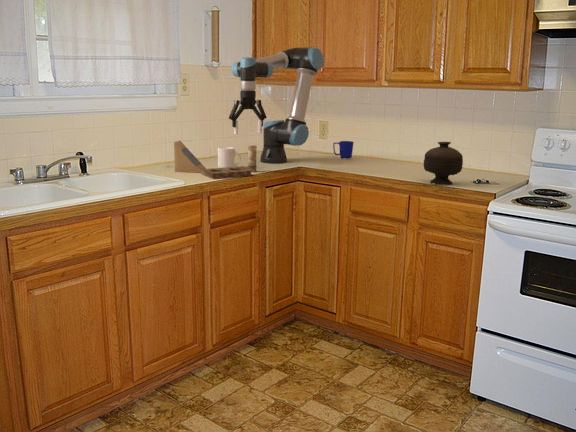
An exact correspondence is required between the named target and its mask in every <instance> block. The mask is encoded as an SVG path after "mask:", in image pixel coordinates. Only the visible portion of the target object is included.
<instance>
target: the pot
mask: <svg viewBox="0 0 576 432" xmlns="http://www.w3.org/2000/svg"><path fill="white" fill-rule="evenodd" d="M437 144H438V145H439V146H436V147H433V148H430V149H429V150H427V151H426V152H425V154H424V160H423V169H424V170H425V172H428V173H431V174H433V175H435V177H434V178H433V179H431V180H430V182H431V183H430V182H429V183H430V184H432V183H435V184H434V185H437V184H452V185H453V181H451V180H450V179H449V176H455V175H457V174H459V173H461V171H462V169H463V167H464V159H463V154H462V153H461V152H460V151H459V150H458V149H456V148H453V147H450V146H449V145H451V144H452V142H451V141H439V142H437Z"/></svg>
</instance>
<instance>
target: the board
mask: <svg viewBox="0 0 576 432" xmlns="http://www.w3.org/2000/svg"><path fill="white" fill-rule="evenodd" d="M200 174H201V175H203V176H204V177H207V178H209V179H212V180H216V179H217V180H218V179H228V178H229V179H230V178H241V177H251V176H252V172H251V171H250V170H248V168H242V167H241V166H234V167H226V168H218V167H214V168H213V167H212V168H211V167H210V168H206V169H201V173H200Z"/></svg>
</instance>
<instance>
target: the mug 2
mask: <svg viewBox="0 0 576 432" xmlns="http://www.w3.org/2000/svg"><path fill="white" fill-rule="evenodd" d="M335 145H339V146H338V147H339V153H336V150H335V149H336V148H335V147H336V146H335ZM332 146H333V153H334V155H335V156H339V157H340V158H341V159H343V158H350V159H351V158H352V157H353V156H352V155H353V148H354V141H350V140H341V141H338V142H333V145H332Z"/></svg>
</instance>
